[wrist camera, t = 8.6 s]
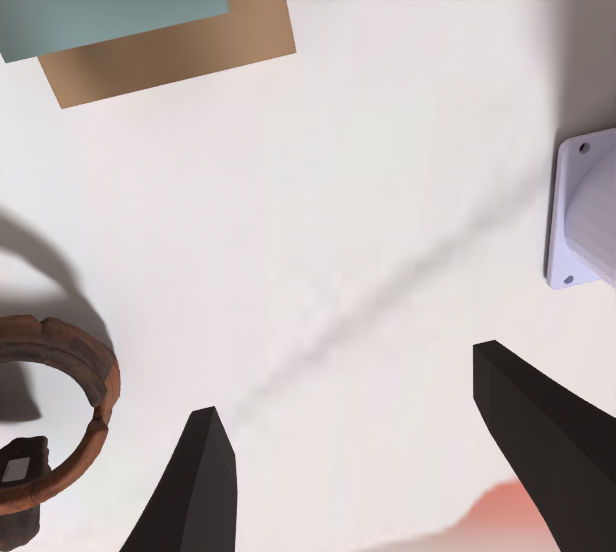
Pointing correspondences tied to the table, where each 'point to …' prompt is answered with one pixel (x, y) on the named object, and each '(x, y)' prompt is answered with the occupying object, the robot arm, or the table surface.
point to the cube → (89, 22)
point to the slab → (170, 53)
